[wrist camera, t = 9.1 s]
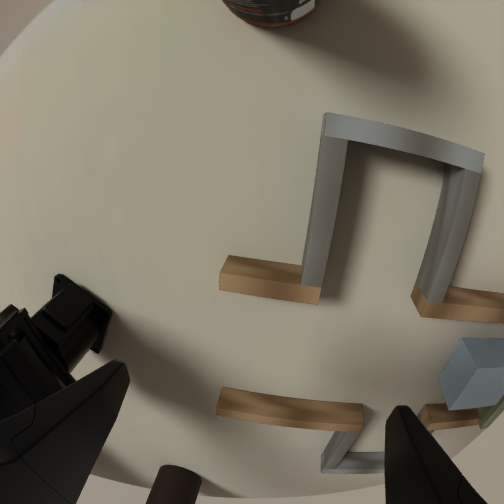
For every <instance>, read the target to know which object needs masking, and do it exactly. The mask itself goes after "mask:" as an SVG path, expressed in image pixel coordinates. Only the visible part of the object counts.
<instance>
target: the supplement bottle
mask: <svg viewBox="0 0 504 504" xmlns="http://www.w3.org/2000/svg"><path fill="white" fill-rule="evenodd" d="M222 1H223V2H224V3H225V4H226V6H227V7H228V8H229V10H230V11H231V12H232V13H234V14H235V15H236V16H237V17H238V18H240V19H242V20H244V21H246V22H248V23H252V24H255V25H260V26H268V27H275V26H284V25H289V24H292V23H294V22H297V21H300V20H302V19H303V18H305V17H307V16H308V15H309V14H310V13H312V12H313V11H314V10H315V8H316V7H317V5H318V4H319V2H320V0H222Z"/></svg>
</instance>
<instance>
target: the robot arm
mask: <svg viewBox="0 0 504 504" xmlns="http://www.w3.org/2000/svg"><path fill="white" fill-rule="evenodd" d="M111 317H112V312H111V311H110V309H108V308H107V307H105V306H104V305H103V304H101V303H100V302H98V301H97V300H95V299H94V298H93V297H91V296H90V295H88V294H87V293H86V292H84V291H83V290H81V289H80V288H79V287H77V286H76V285H75V284H73V283H72V282H71V281H69V280H68V279H67V278H65V277H64V276H63V275H61V274H57V275H56V276H55V278H54V285H53V294H52V299H51V300H50V301H48V302H47V303H46V304H45V305H44V306H43V307H42V308H41V309H40V310H39V311H38V312H36V313H35V314H34V315H33V316H32V317H31V318H30V317H29V315H28V312H27V310H26V308H23V309H20V310H18V308H16V307H15V306H13V305H12V304H10V305H9V306H7V307H6V308H5V309H4V310H3V311H2V312H0V504H76V502H77V500H78V498H79V496H80V494H81V491H82V489H83V487H84V485H85V483H86V481H87V478H88V476H89V474H90V472H91V470H92V468H93V466H94V464H95V462H96V460H97V458H98V456H99V453H100V451H101V449H102V447H103V445H104V443H105V441H106V439H107V437H108V435H109V433H110V431H111V429H112V427H113V425H114V423H115V421H116V419H117V416H118V413H119V411H120V408H121V405H122V402H123V400H124V397H125V394H126V391H127V389H128V386H129V383H130V377H129V374H128V370H127V366H126V364H125V363H124V362H122V361H119V360H112V361H111V362H109V363H107V364H105V365H104V366H102V367H100V368H98V369H97V370H95V371H93V372H92V373H90V374H88V375H86V376H85V377H83V378H81V379H79V380H78V381H76V380H75V379H74V378H73V377H72V375H71V374H70V373H71V372H72V371H73V369H74V368H75V367H76V365H77V364H78V363H79V362H80V360H81V359H82V358H83V357H84V355H85V354H86V353H87V352H88V350H89V349H91V350H92V351H94V352H95V353H97V354H98V353H100V351H101V350H102V347H103V343H104V340H105V336H106V333H107V330H108V326H109V323H110V320H111ZM384 471H385V491H386V492H385V493H386V504H487V502H486V501H485V500H484V499H483V498H482V497H481V496H480V495H479V494H478V493H477V492H476V491H475V489H474V488H473V487H472V486H471V485H470V483H469V482H468V481H467V480H466V478H465V477H464V476H463V475H462V473H461V472H460V471H459V469H458V468H457V467H456V465H455V464H454V463H453V462H452V460H451V459H450V458H449V456H448V455H447V454H446V453H445V451H444V450H443V449H442V447H441V446H440V445H439V444H438V442H437V441H436V440H435V439H434V437H433V436H432V435H431V434H430V432H429V431H428V430H427V429H426V427H425V426H424V425H423V424H422V422H421V421H420V420H419V419H418V417H417V416H416V415H415V414H414V412H413V411H412V410H411V409H410V407H408V406H406V405H398V406H396V407H395V408H394V410H393V411H392V413H391V414H390V416H389V417H388V419H387V421H386V427H385V455H384Z"/></svg>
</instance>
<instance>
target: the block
mask: <svg viewBox="0 0 504 504" xmlns="http://www.w3.org/2000/svg"><path fill="white" fill-rule="evenodd" d="M438 381H439V384H440V387H441V390H442V392H443V395H444V398H445V401H446V404H447V407H448V410H460V409H470V408H478V407H486V406H493V405H496V404H497V403H498V401H499V400H500V399H501V398H502V396H503V395H504V339H495V338H461V339H460V341H459V343H458V345H457V347H456V349H455V351H454V353H453V354H452V356H451V358H450V360H449V362H448V363H447V365H446V367H445V369H444V370H443V372H442V374H441V375H440V377H439V379H438Z"/></svg>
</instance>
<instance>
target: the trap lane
mask: <svg viewBox="0 0 504 504" xmlns="http://www.w3.org/2000/svg"><path fill="white" fill-rule="evenodd" d="M348 140H352V141H358V142H363V143H368V144H373V145H378V146H382V147H387V148H391V149H395V150H400V151H404V152H408V153H412V154H416V155H420V156H424V157H427V158H431V159H435V160H438V161H442V162H445V163H447V165H446V170H445V176H444V181H443V186H442V190H441V195H440V199H439V203H438V208H437V212H436V216H435V220H434V224H433V227H432V231H431V235H430V238H429V242H428V245H427V249H426V252H425V255H424V258H423V262H422V265H421V268H420V271H419V274H418V277H417V280H416V283H415V285H414V288H413V291H412V294H411V298H412V300H413V302H414V304H415V306H416V308H417V310H418V312H419V314H420V316H421V317H428V318H439V319H451V320H464V321H477V322H493V323H504V294H503V293H495V292H487V291H480V290H472V289H465V288H457V287H450V286H449V284H450V282H451V279H452V276H453V273H454V271H455V268H456V265H457V262H458V259H459V256H460V253H461V250H462V247H463V244H464V240H465V237H466V234H467V230H468V227H469V223H470V220H471V216H472V212H473V208H474V204H475V200H476V196H477V191H478V187H479V182H480V177H481V172H482V167H483V161H484V155H485V154H484V153H482V152H479V151H476V150H473V149H471V148H468V147H465V146H462V145H459V144H456V143H453V142H450V141H447V140H443V139H440V138H437V137H434V136H430V135H427V134H423V133H420V132H416V131H412V130H408V129H405V128H401V127H397V126H393V125H388V124H384V123H380V122H375V121H370V120H366V119H361V118H356V117H350V116H345V115H339V114H334V113H325V114H323V123H322V131H321V139H320V147H319V155H318V163H317V170H316V178H315V185H314V192H313V198H312V205H311V212H310V218H309V224H308V231H307V237H306V243H305V249H304V255H303V261H302V266H300V265H293V264H286V263H279V262H272V261H265V260H258V259H251V258H245V257H238V256H231V255H229V256H228V258H227V259H226V261H225V263H224V265H223V267H222V269H221V271H220V273H219V290H222V291H228V292H234V293H240V294H246V295H252V296H259V297H265V298H272V299H279V300H286V301H293V302H300V303H307V304H314V305H318V301H319V296H320V292H321V288H322V283H323V279H324V274H325V269H326V265H327V260H328V255H329V250H330V245H331V240H332V235H333V230H334V225H335V219H336V214H337V208H338V202H339V196H340V190H341V184H342V178H343V172H344V165H345V158H346V151H347V144H348ZM503 409H504V395H503V396H502V398H501V399H500V400H499V401H498V403H497V404H496V405H493V406H486V407H478V408H470V409H460V410H448V407H447V404H425V406H424V407H423V408H422V410H421V411H420V413H419V414H418V415H417V417H418V419H419V420H420V421H421V422H422V424H423V425H424V426H425V427H426V429H427V430H428V431H429V432H430V434H431V433H432V432H433V431H434V430H438V429H448V428H457V427H465V426H472V425H479V426H480V429H481V428H487V427H489V426H490V424H491V423H492V422H493V421H494V420H495V419H496V417H497V416H498V415H499V414H500V413H501V411H502V410H503ZM216 415H219V416H223V417H229V418H234V419H239V420H245V421H251V422H257V423H263V424H270V425H278V426H285V427H294V428H304V429H315V430H328V431H335V433H334V434H333V436H332V438H331V440H330V441H329V443H328V445H327V447H326V448H325V450H324V452H323V453H322V455H321V473H332V474H370V473H385V471H384V455H385V452H347V450H348V449H349V448H350V446H351V445H352V443H353V442H354V440H355V439H356V437H357V436H358V434H359V433H360V431H361V429H362V428H363V426H364V417H363V408H362V404H353V403H337V402H325V401H314V400H305V399H296V398H288V397H280V396H273V395H266V394H260V393H254V392H248V391H242V390H236V389H231V388H226V387H222V390H221V393H220V396H219V399H218V403H217V406H216Z"/></svg>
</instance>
